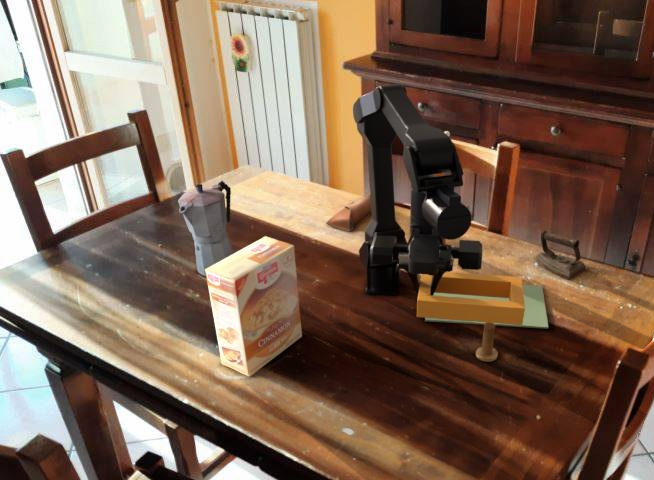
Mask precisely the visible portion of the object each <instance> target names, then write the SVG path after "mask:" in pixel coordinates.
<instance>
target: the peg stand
mask: <svg viewBox="0 0 654 480" xmlns="http://www.w3.org/2000/svg"><path fill="white" fill-rule="evenodd" d="M495 332H496V326H495V324H494V323H488V322H487V323H485V324H484V325H483V332H482V341H481V342H482V343H481V346H480V347H478V348H477V349H476V350H475V357H476V358H477V359H478V360H480V361H481V362H482V361H483V362H485V363H486V362H488V363H489V362H493V361H494V362H495V360H497V359H498V357H499V351H497V349H496V348H494V342H495V334H496V333H495Z"/></svg>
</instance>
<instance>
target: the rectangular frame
mask: <svg viewBox="0 0 654 480" xmlns="http://www.w3.org/2000/svg"><path fill="white" fill-rule="evenodd" d="M420 275H421V276H420V287H419V293H418V296H417V301H416V317H417V318H424V319H425V318H437V319H450V320H462V321H475V322H488V323H500V324H513V325H522V324H523V318H524V311H525V305H524V295H523V285H524V284H523V277H520V276H507V275H495V274H494V275H493V274H481V273H480V274H479V273H465V272H454V271H451V272H446V273H444V274H443V276H442V277H441V279H440V281H439V283H438V285H437V288H436V290H435V292H434V293H446V294H460V295H473V296H486V297H499V298H509V301H499V300H486V299H473V298H459V297H446V296H433V295H431V284H432V278H433V275H428V274H420Z"/></svg>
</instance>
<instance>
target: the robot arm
mask: <svg viewBox="0 0 654 480" xmlns="http://www.w3.org/2000/svg"><path fill="white" fill-rule="evenodd" d="M352 116H353V120H354V123H355V124H356V130H357V132H358V134H359V135H360V136H361V138H362V139H363V140H364V142H365V144H366V151H367V167H368V168H367V169H368V182H369V195H370V197H371V212H372V214H371V218H370V221H369V223H368V225H367V226H366V229H365V231H364V242H363V243H362V245H361V246H360V248H359V249H358V256H359V261H360V262H361V264H362V266H363V267H364V268H365V271H366V288H365V294H366V295H377V296H378V295H379V296H396V295H397V294H398V290H399V289H400V286H401V270H404V271H405V272H406V273H407V275H408V276H409V278H410V281H411V283H412V286H413V289H414V291H415V294H416V296H417V297H418V293H419V287H420V281H421V276H420V275H421V274H428V275H433V278H432V284H431V295H434V292H435V290H436V288H437V285H438V283H439V281H440V279H441V277H442V276H443V274H444V273H446V272H453V270H454V262H455V260H457V265H458V267H460V268H461V270H471V271H472V270H473V271H479V270H481V269H482V263H483V244H482V243H481V240H470V239H468V240H467V239H460V238H461V237H463V236H464V235H466V233H467V232H468V231H469V229H470V227H471V226H472V221H473V217H472V214H471V210H470V209H469V207H467V206H466V204H464V203H463V202H462V196H461V195H460V194H459V193H458V192H455V188H458V187H463V186H464V181H463V176H464V175H465V173H464V171H463V167H462V163H461V161H460V157H459V153H458V149H457V148H456V145H455V143H454V142H453V141H452V139H451V137H450V136H447V135H446V134H445V133H444V132H445V131H443V130H442V129H441V128H438V127H435V126H433V125H432V126H431V125H429V124H428V123H427V122H426V120H425V118H424V117H423V115H422V114H421V113H420V112H419V110H418V109H417V107H416V106H415V104H414V103H413V101H412V99H410V97H409V96H408V92H407V88H406V86H405V85H404V84H400V83H398V84H397V83H396V84H395V83H394V84H384V85H378V86H377V87H375V88H374V89H373V90H372V91H370V92H368V93H367V92H366V93H365V94H364V95H361V96H359V97H358V98H357V99H356V101H355V102H354V103H353V106H352ZM396 137H398V138H399V140H400V141H401V143H402V145H403V151H402V152H403V153H402V160H403V165H404V168H405V170H406V173H407V176H408V179H409V182H410V211H409V237H408V240H407V238H406V232H405V230H404V229H403V228H402V227H401V225H400V224H399V222H398V221H397V220H396V207H395V206H396V204H395V203H396V201H395V185H394V167H393V146H392V145H393V143H394V141H395V139H396ZM440 173H442V174H446V175H442V176H438V177H437V176H435V175H434V174H440ZM447 173H450V174H447ZM444 239H446V241H449V240H450V241H454V240H457V239H459V240H458V246H454V245H452V244H446V245H444Z"/></svg>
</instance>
